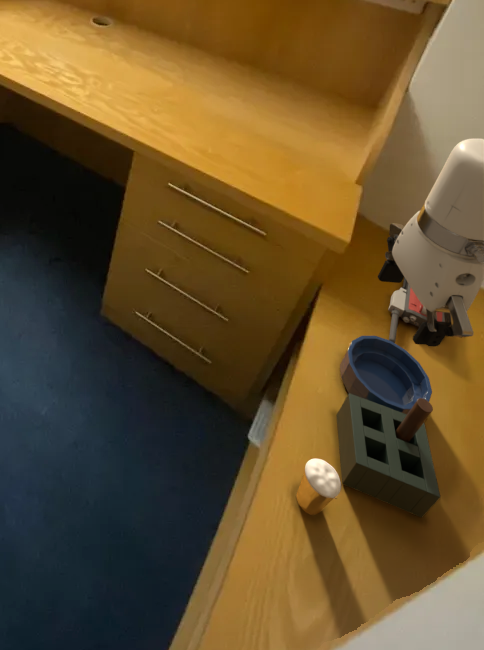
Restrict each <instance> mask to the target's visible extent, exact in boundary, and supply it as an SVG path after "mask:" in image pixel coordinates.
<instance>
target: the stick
mask: <svg viewBox="0 0 484 650" xmlns="http://www.w3.org/2000/svg"><path fill="white" fill-rule="evenodd" d="M433 410H434V408H433V405H432V404H431V402H430V401H429V402H428V401H427V400H425V399H423V398H419V399H418V400H417V401H416V403H415V404H414V405H413V407H412V408H411V410H410V411H409V413H408V414H407V415H406V417H405V418H404V420H403V421H402V423H401V424H400V425H399V427H398V428H397V430H396V431H395V433H396V438H397V439H400V440H402V441H405V442H408V443H409V442H410V440H411V439H412V438H413V436H414V435H415V434H416V432H417V431H418V430H419V428H420V427H421V426H422V424H423V423H424V424H425V422H426V420H427V419H428V418H429V416H430V415H431V414H432V412H433Z"/></svg>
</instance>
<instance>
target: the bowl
mask: <svg viewBox="0 0 484 650" xmlns="http://www.w3.org/2000/svg"><path fill="white" fill-rule="evenodd" d="M339 370H340V379H341V381H342V383H343V385H344V387H345V389H346V391H347V393H348V394H349V393H350V394H353V395H355V396H358V397H361V398H364V399H366V400H369V401H372V402H375V403H377V404H380V405H383V406H385V407H388V408H391V409H393V410H396V411H399V412H401V413H404V414H408V413H409V411H410V410H411V408H412V407H413V405H414V404H415V403H416V401H417V400H418V399H419V398H423V399H425V400H427V401H428V402H429V403H430V401H431V397H432V394H433V389H432V385H431V380H430V377H429V375H428V374H427V372H426V370H425V369H424V368H423V366H422V365H421V363H420V362H419V361H418V360H417V359H416V358H415V357H414V356H413V355H412V354H411V353H410V352H409V351H408V350H406V349H405V348H403V347H402V346H400V345H398V344H397V343H396V342H395V343H393V342H392V341H390V340H389V339H387V338H383V337H381V336H379V335H378V336H377V335H360V336H359V337H357V338H355V339H353V340H351V342H350V343H349V346H348V348H347V350H346V351H345V353H344V355H343V357H342V360H341V362H340V364H339Z"/></svg>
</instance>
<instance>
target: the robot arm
mask: <svg viewBox="0 0 484 650" xmlns="http://www.w3.org/2000/svg"><path fill="white" fill-rule="evenodd" d="M388 235H389V236H387V238H386V242H387V250H388V251H385V253H384V257H385V259H386V260H385V261H384V263H383V264H382V267H381V269H380V270H379V273H378V274H377V279H378V281H380V282H383V283H384V282H385V283H395V284H396V283H397V284H400V283H402V281H404V277H405V279H406V280H407V282H408V284H409V285H410V287H411V288H412V290H413V292H414V293H415V295H416V296H417V298H418V299H419V301H420V302H421V304H422V305H423V306H424V307H425V308H426V313H427V322H423V323H422V324H421V325H420V327H417V330H416V331H415V333H414V335H413V336H412V340H413V342H414V344H415V345H422V346H427V347H432V348H436V347H439V346H440V345H441V344H442V342H443V341H444V339H445V338H446V337H448V338H450V337H451V338H460V339H462V338H468V337H473V336H474V330H473V326H472V324H471V321H470V318H469V315H468V310H469V309H470V308H471V306H472V304H473V303H474V301H475V299H476V297H477V295H478V293H479V291H480V289H481V287H482V284H483V282H484V138H467V139H463V140H461V141H460V142H458V143H457V144H456V145H455V146H454V147H453V148H452V150H451V152H450V153H449V155H448V157H447V159H446V161H445V163H444V165H443V167H442V169H441V170H440V173H439V174H438V177H437V178H436V180H435V182H434V184H433V186H432V187H431V189H430V192H428V195H427V197H426V199H425V201H424V203H423V205H422V207H421V208H420V210H418V211H417V212H416V213H414V215H413V216H412V217H411V218H410V219H409V220H408V221H407V223H406V224H405V225H404V224H401V223H397V222H395V223H393V222H391V223H390V224H389V230H388ZM444 305H445V306H444ZM437 312H444V319H445V322H441V321H437Z"/></svg>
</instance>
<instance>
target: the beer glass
mask: <svg viewBox="0 0 484 650" xmlns="http://www.w3.org/2000/svg"><path fill="white" fill-rule="evenodd" d="M341 491H342V481H341V479H340V476H339V473H338V472H337V471H336V469H335V467H334V466H332V465H331V464H330V463H328V462H327V461H326V460H325V459H321V458H310V459H309V460H308V461H307V462H306V463H305V467H304V470H303V473H302V477H301V481H300V483H299V486H298V489H297V492H296V494H295V496H296V500H297V504H298V506H299V507H300V508H301V509H302V511H303V512H305V513H306V514H309V515H311V516H314V515H318V514H319V513H321V512H322V511H323V510H324V509H325V508H326V507H327V505H329V504H330V503H331V502H332V501H333V500H337V499H338V498H337V497H338V496H339V495H340V493H341Z"/></svg>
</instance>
